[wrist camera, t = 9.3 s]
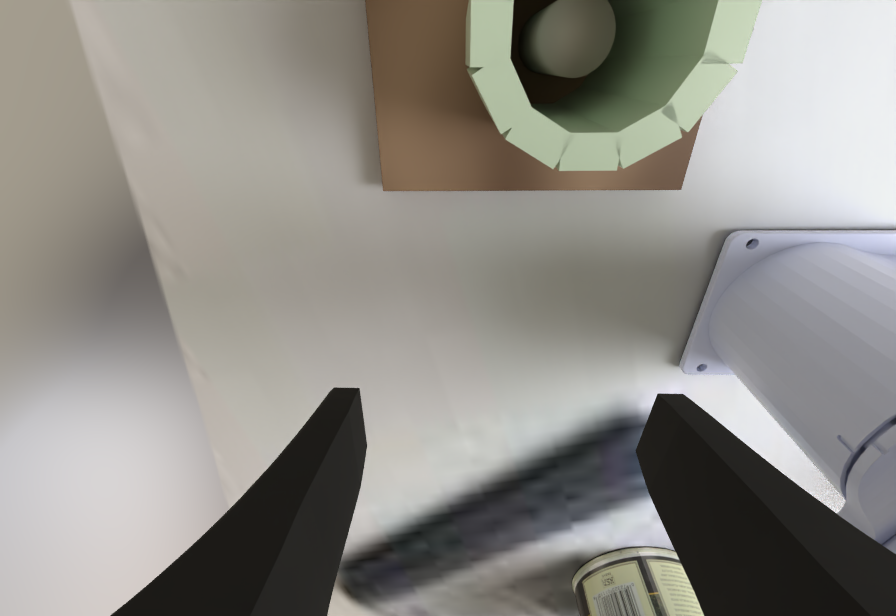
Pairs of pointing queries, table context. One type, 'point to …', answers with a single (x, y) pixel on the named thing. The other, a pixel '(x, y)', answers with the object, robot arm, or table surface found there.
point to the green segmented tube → (614, 80)
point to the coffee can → (635, 585)
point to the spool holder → (462, 111)
